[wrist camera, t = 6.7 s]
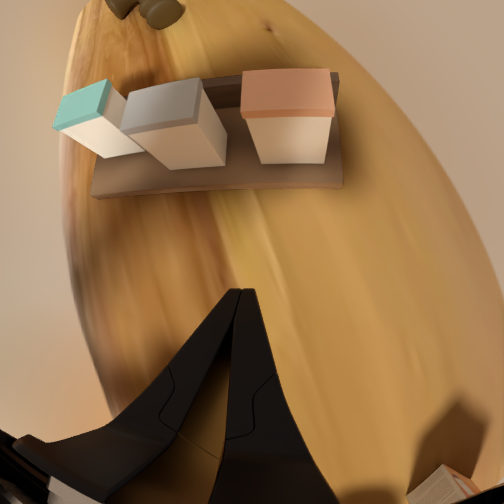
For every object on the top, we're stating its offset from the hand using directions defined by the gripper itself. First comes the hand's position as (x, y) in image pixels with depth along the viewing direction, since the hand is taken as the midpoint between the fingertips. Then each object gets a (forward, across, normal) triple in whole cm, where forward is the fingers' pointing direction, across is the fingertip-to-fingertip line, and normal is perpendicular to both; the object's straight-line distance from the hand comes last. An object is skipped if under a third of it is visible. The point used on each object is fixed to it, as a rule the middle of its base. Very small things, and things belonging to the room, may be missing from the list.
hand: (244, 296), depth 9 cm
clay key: (+16, -2, +1) cm, 16 cm away
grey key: (+17, +6, +1) cm, 18 cm away
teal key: (+18, +14, -1) cm, 23 cm away
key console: (+19, +6, +1) cm, 20 cm away
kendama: (+40, +19, -20) cm, 48 cm away
